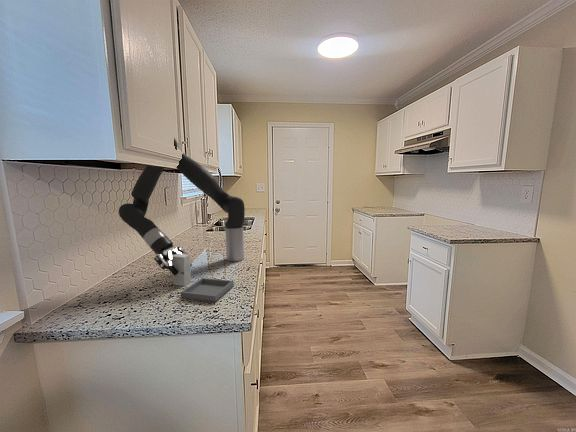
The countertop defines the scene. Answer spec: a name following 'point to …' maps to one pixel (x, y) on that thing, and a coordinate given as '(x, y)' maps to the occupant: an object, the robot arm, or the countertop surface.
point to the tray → (207, 290)
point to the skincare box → (182, 269)
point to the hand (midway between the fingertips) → (184, 270)
